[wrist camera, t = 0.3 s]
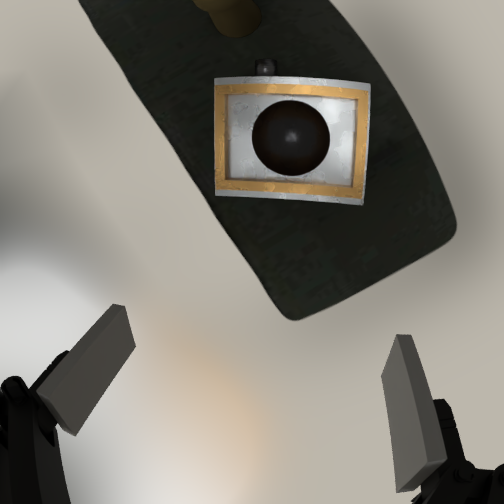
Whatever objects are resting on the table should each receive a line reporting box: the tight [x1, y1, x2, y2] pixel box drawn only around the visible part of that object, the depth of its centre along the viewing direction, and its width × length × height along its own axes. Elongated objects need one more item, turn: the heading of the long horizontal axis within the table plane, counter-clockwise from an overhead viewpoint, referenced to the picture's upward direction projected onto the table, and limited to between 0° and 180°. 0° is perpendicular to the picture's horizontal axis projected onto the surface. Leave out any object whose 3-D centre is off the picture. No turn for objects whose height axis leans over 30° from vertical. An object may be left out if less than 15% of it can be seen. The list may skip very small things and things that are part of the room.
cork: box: [193, 0, 262, 38], centre depth 24 cm, size 6×6×11 cm
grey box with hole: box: [214, 59, 370, 205], centre depth 31 cm, size 15×16×8 cm
